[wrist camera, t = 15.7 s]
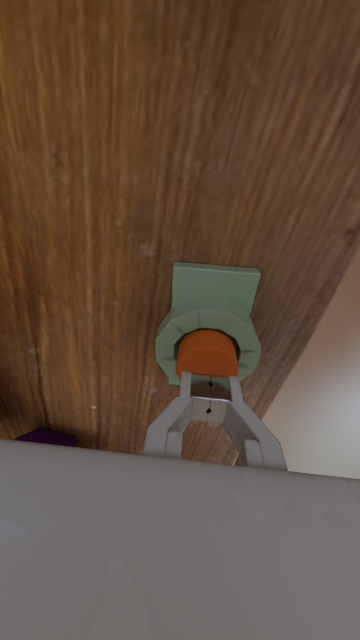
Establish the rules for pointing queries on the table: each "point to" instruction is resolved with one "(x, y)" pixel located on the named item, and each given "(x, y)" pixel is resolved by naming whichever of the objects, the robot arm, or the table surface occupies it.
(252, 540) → the robot arm
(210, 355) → the button
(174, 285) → the button box
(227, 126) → the table surface
